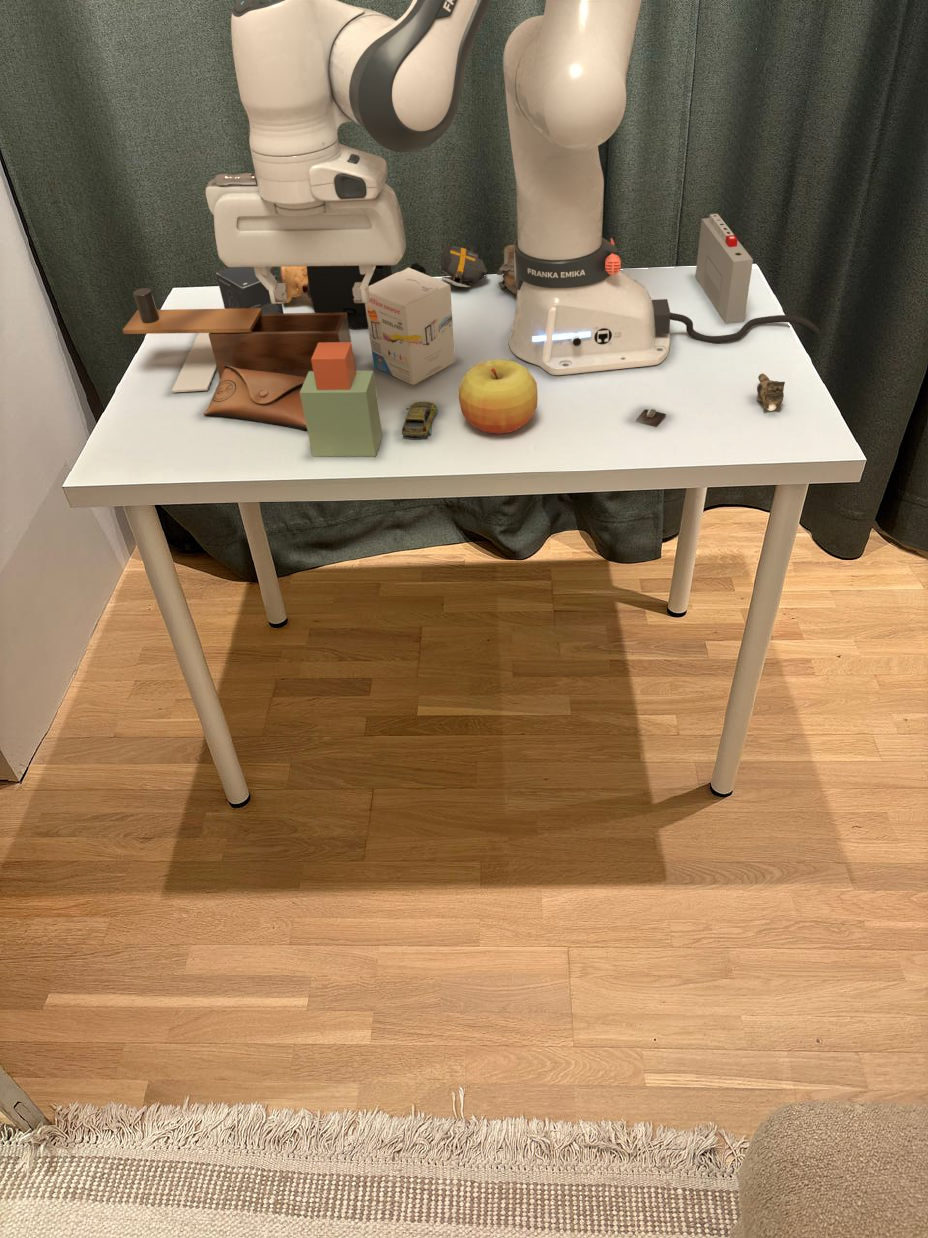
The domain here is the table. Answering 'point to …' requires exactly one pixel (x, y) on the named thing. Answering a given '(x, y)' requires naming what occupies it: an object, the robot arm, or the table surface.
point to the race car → (419, 420)
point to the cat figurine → (770, 392)
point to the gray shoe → (462, 266)
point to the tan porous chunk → (295, 281)
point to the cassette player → (723, 269)
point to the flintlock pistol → (508, 270)
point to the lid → (187, 318)
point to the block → (333, 365)
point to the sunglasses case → (259, 397)
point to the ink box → (410, 325)
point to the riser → (342, 417)
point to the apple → (498, 396)
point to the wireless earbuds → (418, 268)
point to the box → (245, 290)
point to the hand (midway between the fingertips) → (320, 301)
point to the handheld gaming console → (341, 290)
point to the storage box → (279, 342)
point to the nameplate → (197, 367)
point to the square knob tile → (650, 417)
